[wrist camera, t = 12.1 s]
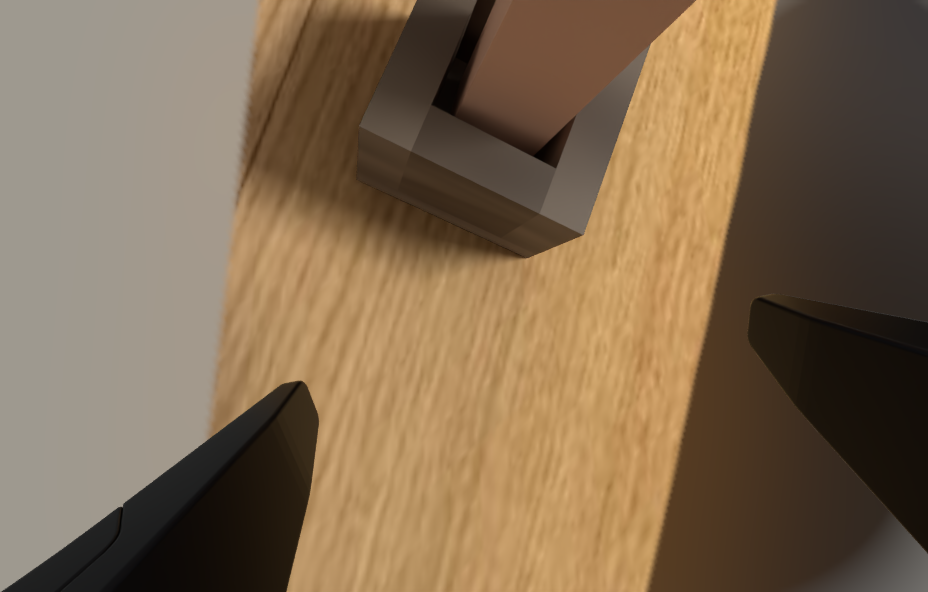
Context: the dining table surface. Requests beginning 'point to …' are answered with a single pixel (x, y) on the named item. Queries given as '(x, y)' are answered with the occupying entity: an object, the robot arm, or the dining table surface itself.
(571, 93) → the peg
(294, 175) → the dining table surface
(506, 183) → the socket block
